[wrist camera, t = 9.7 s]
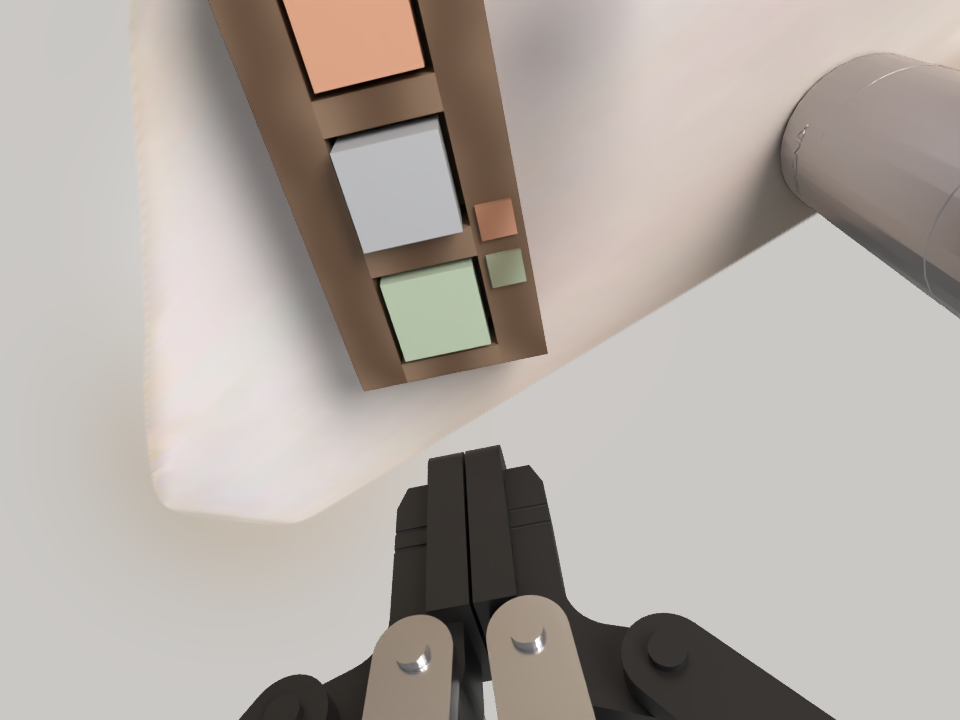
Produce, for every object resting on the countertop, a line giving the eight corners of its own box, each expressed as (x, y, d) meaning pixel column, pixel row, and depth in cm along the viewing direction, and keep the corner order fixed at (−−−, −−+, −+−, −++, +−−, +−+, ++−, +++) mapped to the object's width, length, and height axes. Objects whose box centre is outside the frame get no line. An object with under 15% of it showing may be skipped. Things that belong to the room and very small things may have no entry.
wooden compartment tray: (454, -130, 31) (458, -141, 26) (536, 310, 45) (548, 356, 40) (218, -68, 32) (179, -67, 27) (371, 345, 46) (363, 394, 41)
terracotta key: (395, -68, 30) (391, -68, 27) (425, 56, 33) (424, 67, 30) (284, -40, 30) (270, -37, 27) (324, 81, 33) (314, 93, 30)
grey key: (437, 113, 33) (437, 128, 31) (461, 210, 36) (462, 231, 34) (337, 137, 33) (329, 154, 31) (369, 231, 36) (364, 253, 34)
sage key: (469, 244, 38) (472, 265, 36) (487, 319, 42) (491, 343, 39) (383, 263, 39) (380, 285, 36) (407, 335, 42) (405, 361, 39)
